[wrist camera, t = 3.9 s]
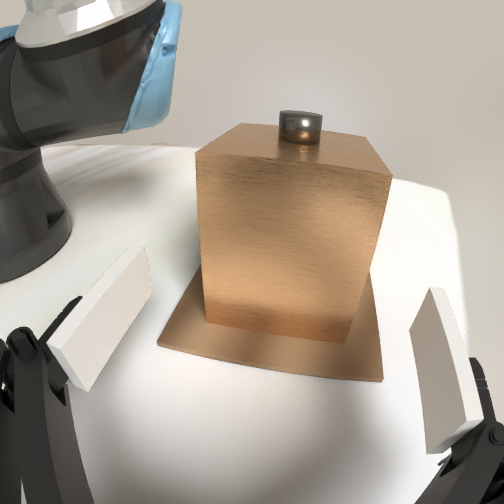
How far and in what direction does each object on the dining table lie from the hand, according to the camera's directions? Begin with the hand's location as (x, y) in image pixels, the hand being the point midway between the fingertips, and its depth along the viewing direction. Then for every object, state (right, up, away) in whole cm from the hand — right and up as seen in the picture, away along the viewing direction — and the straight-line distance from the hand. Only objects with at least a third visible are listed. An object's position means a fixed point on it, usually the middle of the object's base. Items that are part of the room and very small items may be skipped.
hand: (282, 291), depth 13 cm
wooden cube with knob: (+1, -1, +9) cm, 9 cm away
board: (+1, -1, +9) cm, 10 cm away
